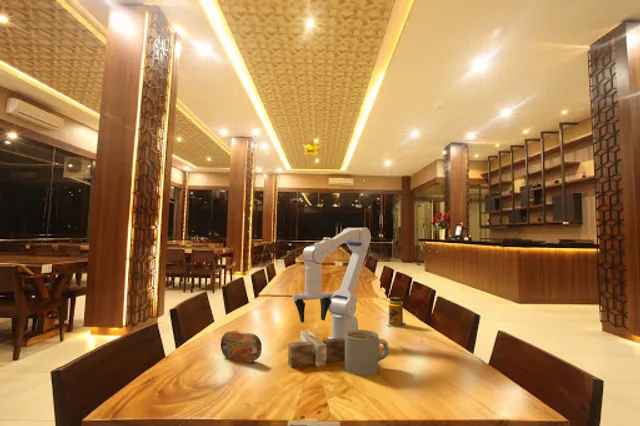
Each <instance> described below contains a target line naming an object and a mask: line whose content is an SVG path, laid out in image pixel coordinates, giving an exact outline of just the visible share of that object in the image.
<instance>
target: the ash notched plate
mask: <svg viewBox="0 0 640 426" xmlns="http://www.w3.org/2000/svg"><path fill="white" fill-rule="evenodd" d="M299 332H300V337H299V338H300V340H299V342H307V341H310V342H311V343H312V344H313V349H312V352H314V353H315V354H316V359H315V364H314V365H315V366H316V367H317V366H318V367H321V366H320V365H325V366H327V362H326V344H325V343H323V342H322V340H321V339H320V338H318V336H316V335H315V334H314V333H312V332H311V331H310V330H301V331H299Z"/></svg>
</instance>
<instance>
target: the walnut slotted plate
mask: <svg viewBox="0 0 640 426" xmlns="http://www.w3.org/2000/svg"><path fill="white" fill-rule="evenodd" d="M321 341H322V342H323V343H325V344H326V363H330V362H329V361H332V362H338V361H337V360H339V361H345V340H344V339H343V338H333V339H328V338H326V339H322V340H321ZM312 349H313V344H312V343H311V342H310V341H307V342H300V341H299V342H293V343H292V342H291V343H288V354H287V355H288V358H287V359H288V361H287V363H288V365H289V367H290V366H291V367H290V368H293V367H292V366H298V367H300V366H299V365H304V366H308V365H307V364H311V365H315V359H316V354H315V353H314V352H312Z"/></svg>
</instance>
